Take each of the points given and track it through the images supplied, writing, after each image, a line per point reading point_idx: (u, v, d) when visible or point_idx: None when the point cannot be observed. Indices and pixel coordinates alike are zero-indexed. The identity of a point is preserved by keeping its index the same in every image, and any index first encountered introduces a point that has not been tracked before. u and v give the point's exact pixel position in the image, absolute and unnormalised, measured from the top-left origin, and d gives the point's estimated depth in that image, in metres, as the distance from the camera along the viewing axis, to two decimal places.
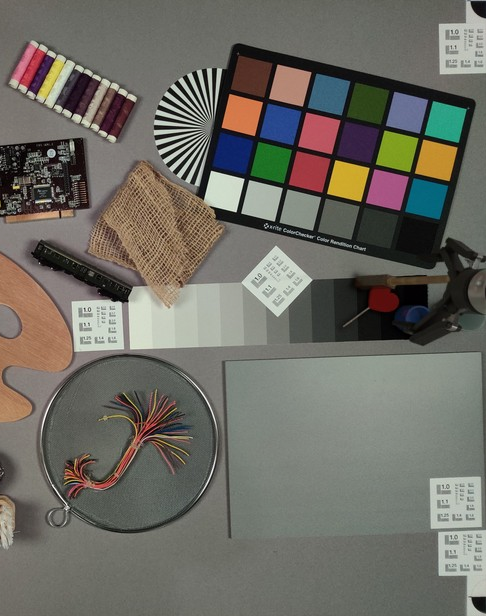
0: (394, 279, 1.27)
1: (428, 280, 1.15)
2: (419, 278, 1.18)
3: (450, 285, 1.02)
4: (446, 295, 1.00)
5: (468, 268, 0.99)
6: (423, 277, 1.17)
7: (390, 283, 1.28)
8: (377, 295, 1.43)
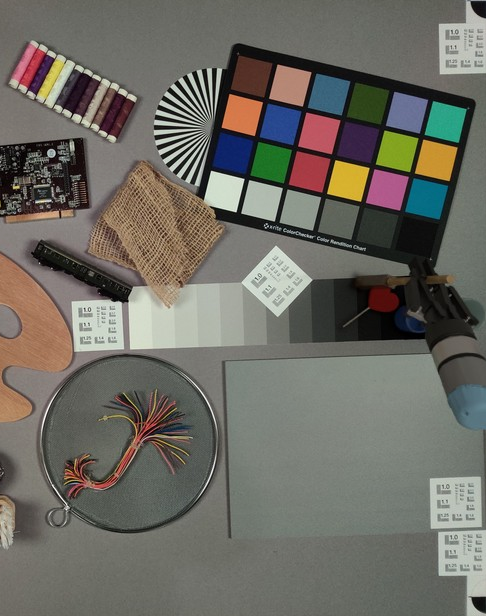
0: (394, 279, 1.27)
1: (429, 280, 1.15)
2: None
3: None
4: None
5: (420, 323, 1.09)
6: None
7: (390, 283, 1.28)
8: (377, 295, 1.43)
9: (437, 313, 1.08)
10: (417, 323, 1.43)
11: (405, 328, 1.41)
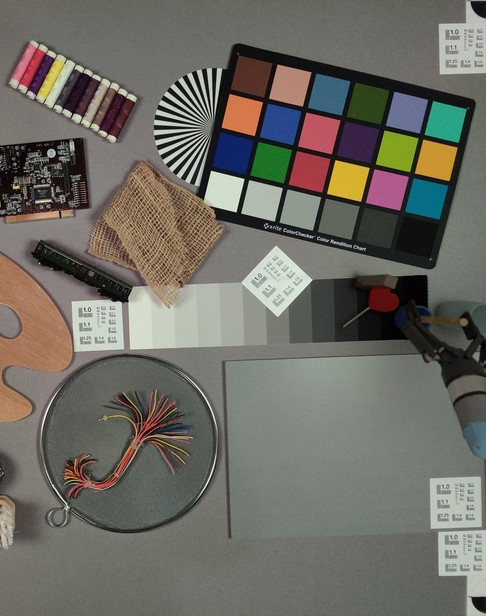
0: None
1: (444, 321, 1.28)
2: (435, 318, 1.32)
3: None
4: None
5: (438, 363, 1.23)
6: (439, 318, 1.31)
7: None
8: (377, 295, 1.43)
9: (452, 353, 1.22)
10: None
11: None
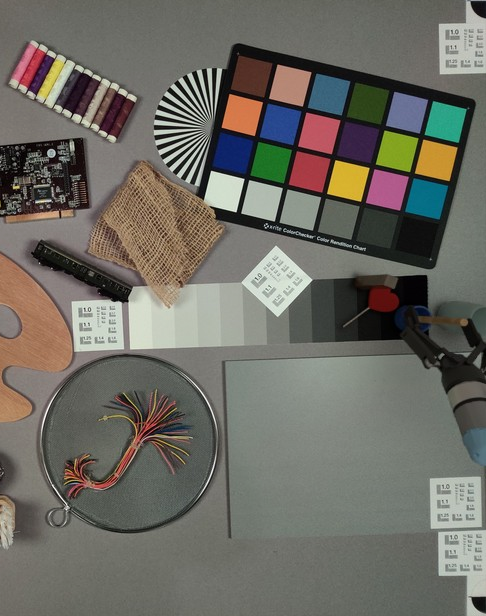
0: None
1: (444, 321, 1.28)
2: (435, 318, 1.32)
3: None
4: None
5: None
6: (439, 318, 1.31)
7: None
8: (377, 295, 1.43)
9: (452, 359, 1.22)
10: None
11: None
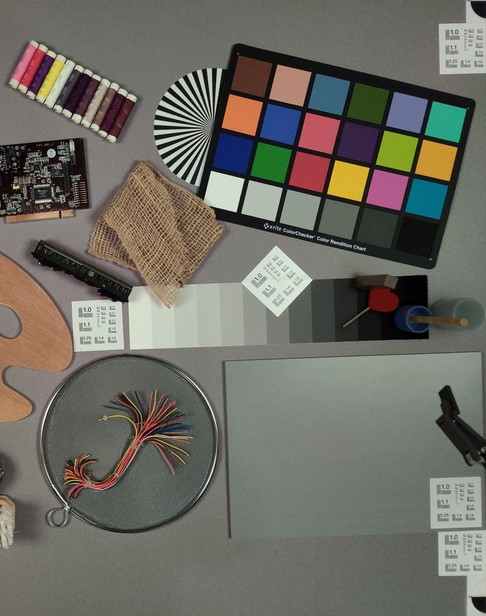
0: (411, 317, 1.41)
1: (444, 321, 1.28)
2: (435, 318, 1.32)
3: None
4: None
5: None
6: (439, 318, 1.31)
7: (408, 320, 1.42)
8: (377, 295, 1.43)
9: None
10: (417, 323, 1.43)
11: (405, 328, 1.41)
